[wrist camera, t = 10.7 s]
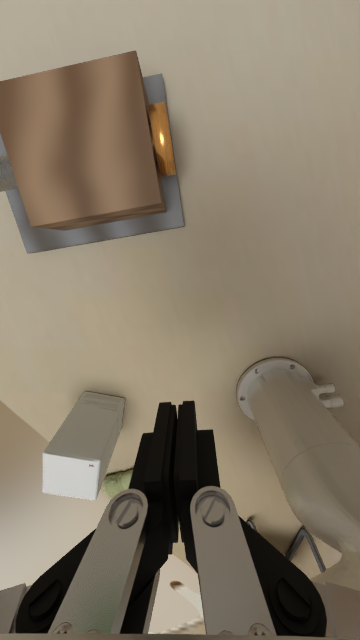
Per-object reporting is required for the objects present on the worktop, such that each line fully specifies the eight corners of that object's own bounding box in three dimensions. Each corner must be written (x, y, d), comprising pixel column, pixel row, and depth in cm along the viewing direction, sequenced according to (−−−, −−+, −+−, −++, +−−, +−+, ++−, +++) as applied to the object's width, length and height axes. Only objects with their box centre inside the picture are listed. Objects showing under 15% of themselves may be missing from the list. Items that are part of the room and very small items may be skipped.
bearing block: (162, 80, 27) (154, 13, 19) (184, 226, 32) (183, 220, 24) (-13, 119, 28) (-88, 71, 21) (32, 253, 33) (-15, 255, 25)
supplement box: (84, 389, 40) (41, 451, 28) (126, 397, 41) (101, 461, 29) (81, 423, 42) (40, 494, 30) (121, 430, 43) (96, 503, 31)
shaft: (167, 120, 26) (163, 85, 20) (176, 180, 28) (174, 164, 22) (1, 155, 27) (-48, 130, 22) (20, 210, 29) (-21, 201, 23)
